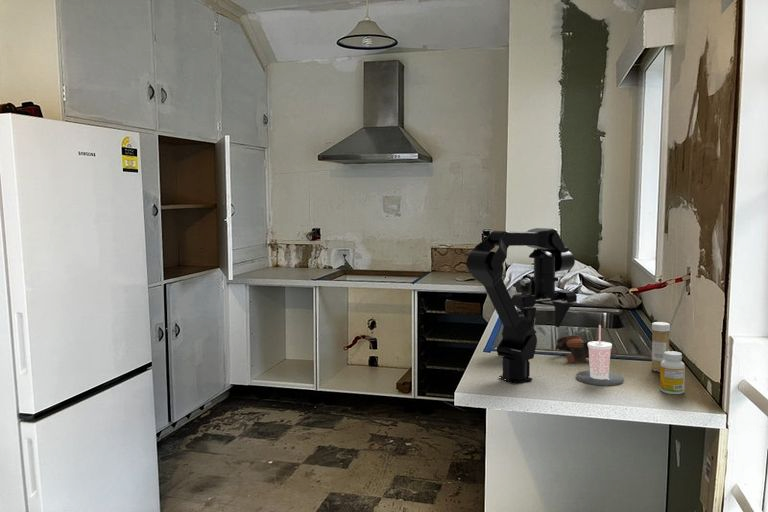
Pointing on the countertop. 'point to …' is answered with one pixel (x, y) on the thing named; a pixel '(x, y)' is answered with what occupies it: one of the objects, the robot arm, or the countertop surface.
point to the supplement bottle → (672, 373)
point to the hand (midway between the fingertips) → (544, 328)
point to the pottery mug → (574, 348)
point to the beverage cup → (599, 358)
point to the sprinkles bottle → (659, 343)
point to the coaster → (612, 379)
